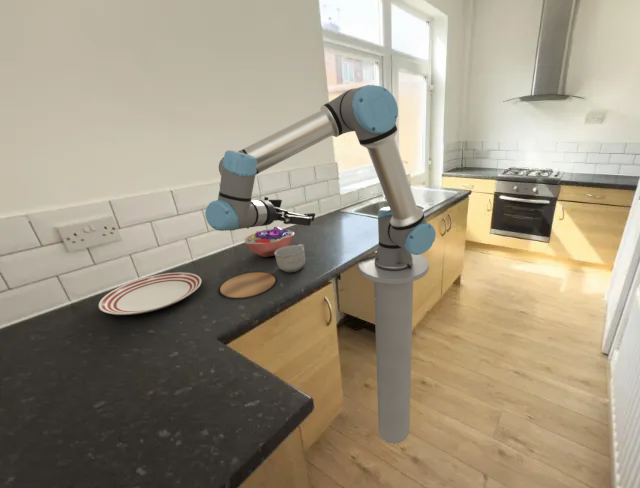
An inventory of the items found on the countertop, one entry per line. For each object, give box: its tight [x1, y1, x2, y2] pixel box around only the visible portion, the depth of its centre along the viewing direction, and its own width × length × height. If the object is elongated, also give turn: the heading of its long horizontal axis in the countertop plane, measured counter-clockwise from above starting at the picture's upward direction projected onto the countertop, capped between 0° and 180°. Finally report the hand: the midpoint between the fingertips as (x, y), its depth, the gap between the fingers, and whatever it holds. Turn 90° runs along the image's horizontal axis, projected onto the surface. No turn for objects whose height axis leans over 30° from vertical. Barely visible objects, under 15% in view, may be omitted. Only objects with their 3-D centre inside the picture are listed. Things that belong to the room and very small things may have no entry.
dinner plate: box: [98, 272, 202, 316], centre depth 103 cm, size 27×27×3 cm
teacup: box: [274, 243, 306, 273], centre depth 122 cm, size 14×11×8 cm
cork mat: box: [219, 271, 276, 299], centre depth 111 cm, size 18×18×1 cm
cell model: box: [244, 226, 295, 258], centre depth 134 cm, size 17×20×11 cm
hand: (296, 210), depth 111 cm, fingers open, 13 cm apart
